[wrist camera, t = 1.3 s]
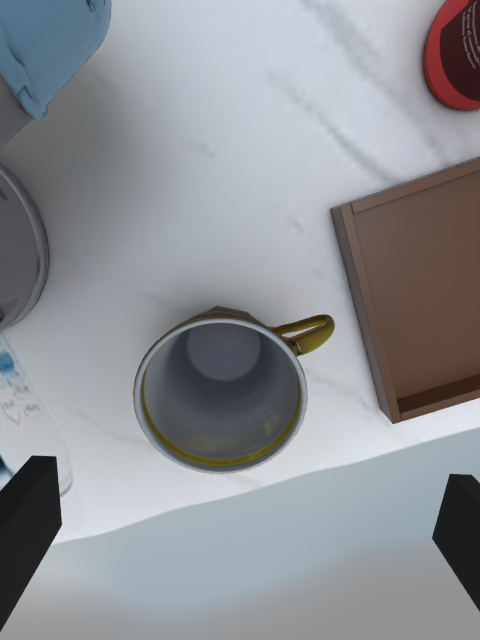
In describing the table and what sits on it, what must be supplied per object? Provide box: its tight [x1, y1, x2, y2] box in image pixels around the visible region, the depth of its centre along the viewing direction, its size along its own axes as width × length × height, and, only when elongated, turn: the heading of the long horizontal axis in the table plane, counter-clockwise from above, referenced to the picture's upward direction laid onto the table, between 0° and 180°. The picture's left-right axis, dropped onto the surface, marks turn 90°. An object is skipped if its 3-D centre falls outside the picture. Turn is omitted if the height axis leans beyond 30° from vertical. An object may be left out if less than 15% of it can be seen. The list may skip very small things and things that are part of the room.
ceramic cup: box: [133, 306, 335, 474], centre depth 24 cm, size 13×10×10 cm
